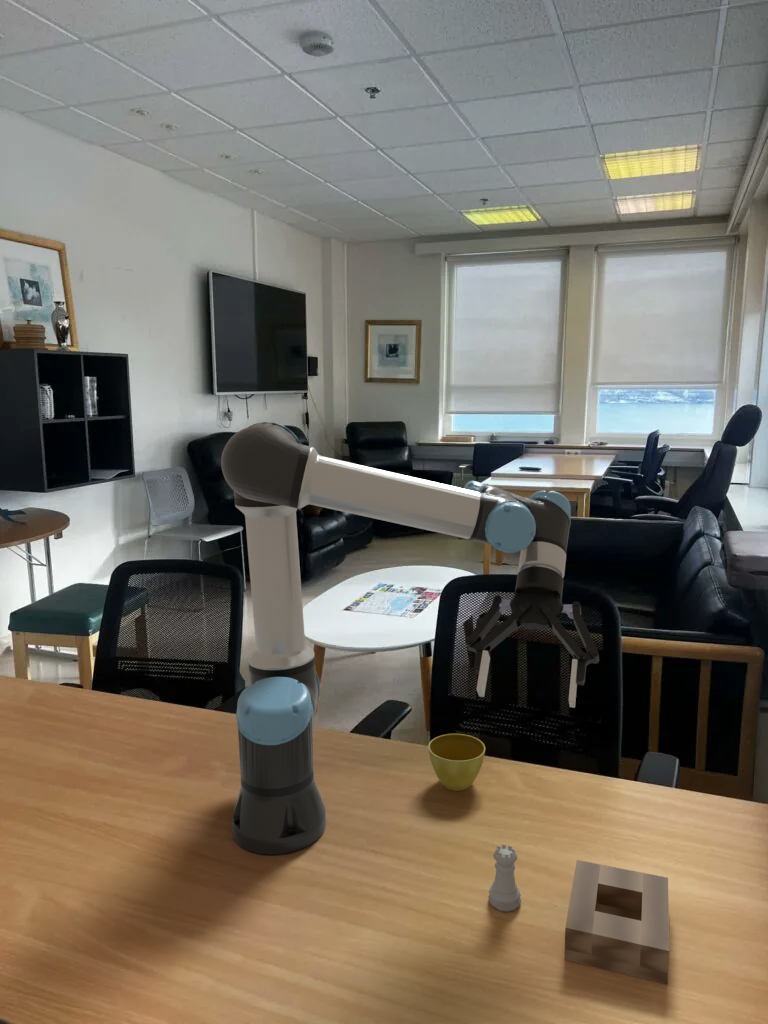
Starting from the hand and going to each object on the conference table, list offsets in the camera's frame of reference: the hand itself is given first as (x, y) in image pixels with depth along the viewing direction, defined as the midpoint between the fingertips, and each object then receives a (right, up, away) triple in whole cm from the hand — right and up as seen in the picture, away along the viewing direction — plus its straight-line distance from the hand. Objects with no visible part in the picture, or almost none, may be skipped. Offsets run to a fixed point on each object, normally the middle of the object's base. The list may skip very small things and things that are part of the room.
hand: (525, 698), depth 111 cm
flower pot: (-8, -21, +22) cm, 32 cm away
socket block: (+9, -27, -14) cm, 32 cm away
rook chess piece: (-4, -26, -8) cm, 28 cm away
